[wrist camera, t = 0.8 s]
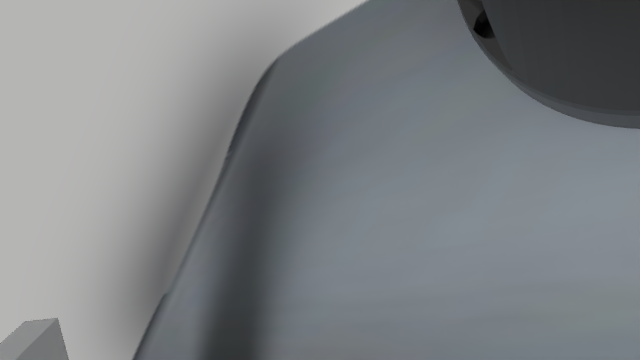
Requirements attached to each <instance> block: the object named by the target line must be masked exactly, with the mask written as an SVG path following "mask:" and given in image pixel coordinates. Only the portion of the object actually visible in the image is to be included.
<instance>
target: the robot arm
mask: <svg viewBox="0 0 640 360" xmlns="http://www.w3.org/2000/svg"><path fill="white" fill-rule="evenodd" d="M458 4H459V7H460V10H461V13H462V15H463V18H464V20H465V22H466V25H467V27H468V29H469V30H470V32H471V34H472V36H473V38H474V39H475V41H476V42H477V44H478V45H479V47H480V48H481V50H482V51H483V52H484V53H485V55H486V56H487V57H488V58H489V59H490V60H491V61H492V62H493V64H494V65H495V66H496V67H497V68H498V69H499V70H500V71H501V72H502V73H503V74H504V75H505V76H506V77H507V78H508V79H509V80H510V81H511V82H512V83H513V84H515V85H516V86H517V87H518V88H519V89H521V90H522V91H523V92H525V93H526V94H527V95H529V96H530V97H532V98H533V99H535V100H537V101H538V102H540V103H542V104H543V105H545V106H547V107H550V108H552V109H554V110H556V111H558V112H561V113H563V114H566V115H568V116H571V117H574V118H577V119H581V120H584V121H588V122H592V123H597V124H602V125H608V126H614V127H624V128H638V129H640V0H458ZM0 360H69V359H68V355H67V351H66V347H65V344H64V340H63V336H62V333H61V328H60V325H59V321H58V318H52V319H44V320H34V321H26V322H24V323H23V324H21V326H19V327H18V328H17V329H16V330H15V331H14V332H12V333H11V334H10V335H9V336H8V337H7V338H6V339H5V340H3V341H2V342H1V343H0Z"/></svg>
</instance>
